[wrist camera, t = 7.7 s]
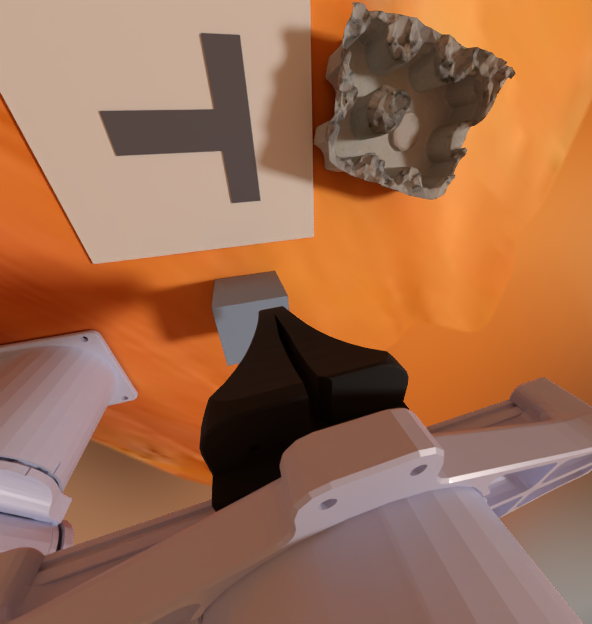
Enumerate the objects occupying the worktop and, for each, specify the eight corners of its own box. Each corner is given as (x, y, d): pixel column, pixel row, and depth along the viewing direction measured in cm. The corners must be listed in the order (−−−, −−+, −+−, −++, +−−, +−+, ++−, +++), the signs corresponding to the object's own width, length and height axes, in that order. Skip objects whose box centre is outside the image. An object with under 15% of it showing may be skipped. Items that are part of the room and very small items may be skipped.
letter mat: (94, 263, 16) (92, 264, 16) (-97, -94, 9) (-107, -103, 8) (313, 236, 19) (314, 237, 19) (308, -47, 12) (310, -52, 11)
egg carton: (463, 90, 16) (526, 68, 13) (415, 202, 20) (456, 208, 16) (334, 10, 13) (376, -50, 9) (301, 165, 16) (323, 162, 13)
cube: (227, 328, 21) (227, 365, 17) (214, 279, 19) (211, 308, 15) (280, 319, 22) (292, 351, 18) (274, 270, 20) (287, 295, 15)
